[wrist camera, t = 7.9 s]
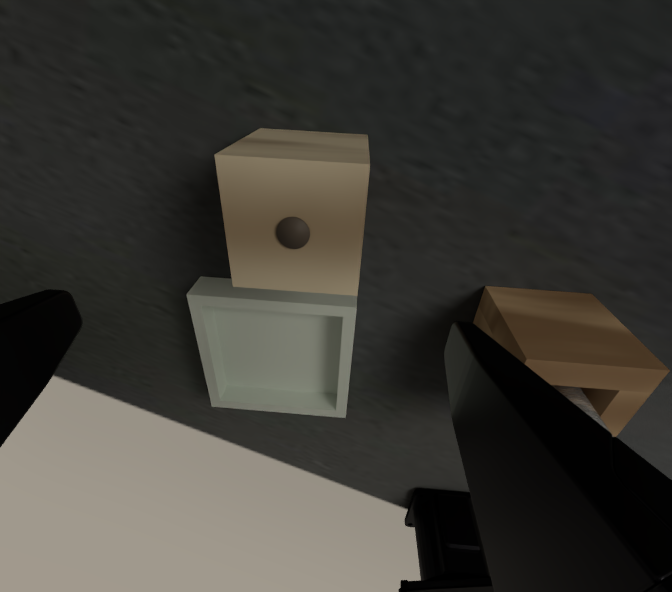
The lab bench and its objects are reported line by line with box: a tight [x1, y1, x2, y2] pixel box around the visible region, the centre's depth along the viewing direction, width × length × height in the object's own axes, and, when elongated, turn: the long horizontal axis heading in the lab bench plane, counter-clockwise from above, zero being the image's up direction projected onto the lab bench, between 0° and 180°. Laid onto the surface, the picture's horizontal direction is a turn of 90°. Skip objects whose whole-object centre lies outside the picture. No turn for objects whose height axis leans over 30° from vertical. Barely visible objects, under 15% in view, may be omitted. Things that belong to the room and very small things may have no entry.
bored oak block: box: [473, 286, 670, 437], centre depth 19 cm, size 6×6×6 cm
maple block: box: [215, 128, 370, 296], centre depth 15 cm, size 5×5×6 cm
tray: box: [186, 276, 357, 418], centre depth 22 cm, size 9×9×2 cm
